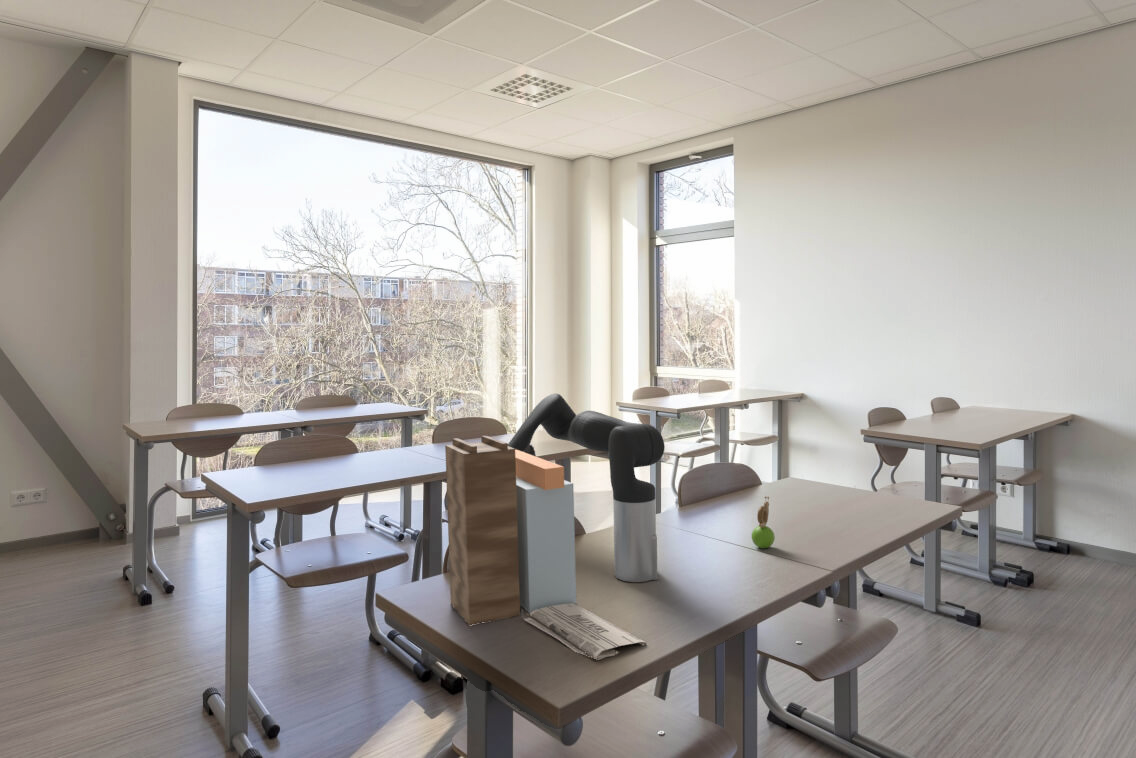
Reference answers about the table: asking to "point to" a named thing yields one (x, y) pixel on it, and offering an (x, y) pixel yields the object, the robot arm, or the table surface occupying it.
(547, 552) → the short post
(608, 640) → the newspaper
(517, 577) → the tall post
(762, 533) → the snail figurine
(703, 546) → the table surface
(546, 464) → the beam
